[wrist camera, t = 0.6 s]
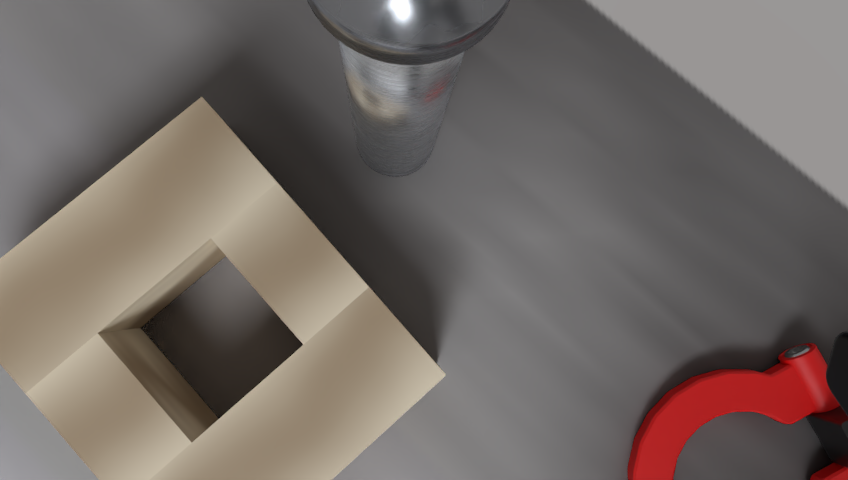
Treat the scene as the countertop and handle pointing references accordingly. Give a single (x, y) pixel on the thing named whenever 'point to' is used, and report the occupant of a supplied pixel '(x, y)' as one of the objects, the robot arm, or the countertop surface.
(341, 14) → the steel pin
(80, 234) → the socket block
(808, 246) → the countertop surface
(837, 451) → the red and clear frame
